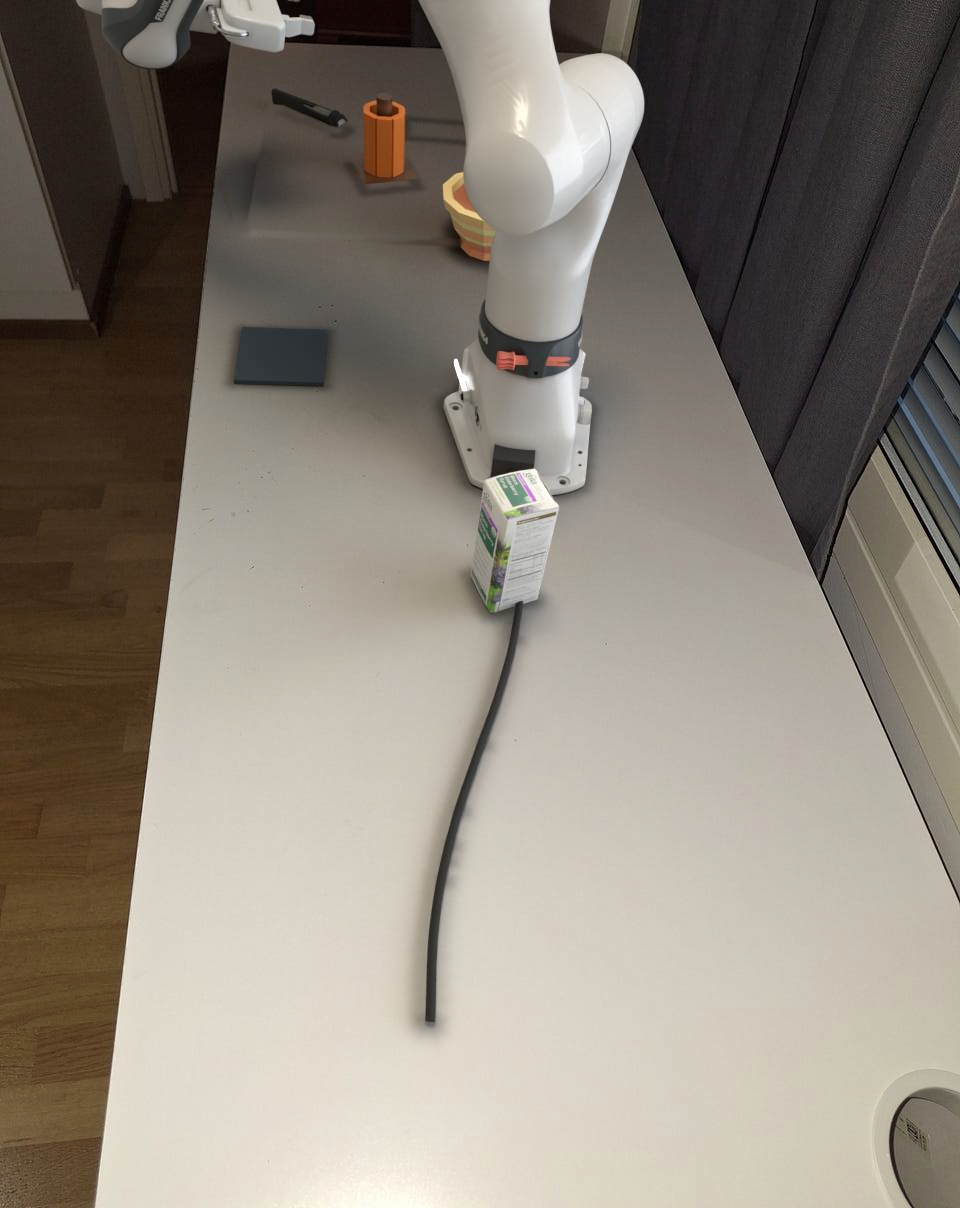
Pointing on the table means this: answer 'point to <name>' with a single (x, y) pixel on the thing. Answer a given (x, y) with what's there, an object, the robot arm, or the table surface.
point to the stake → (382, 110)
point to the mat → (281, 356)
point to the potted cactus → (467, 220)
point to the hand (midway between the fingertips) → (306, 9)
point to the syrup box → (513, 538)
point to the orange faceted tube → (384, 141)
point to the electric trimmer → (308, 108)
